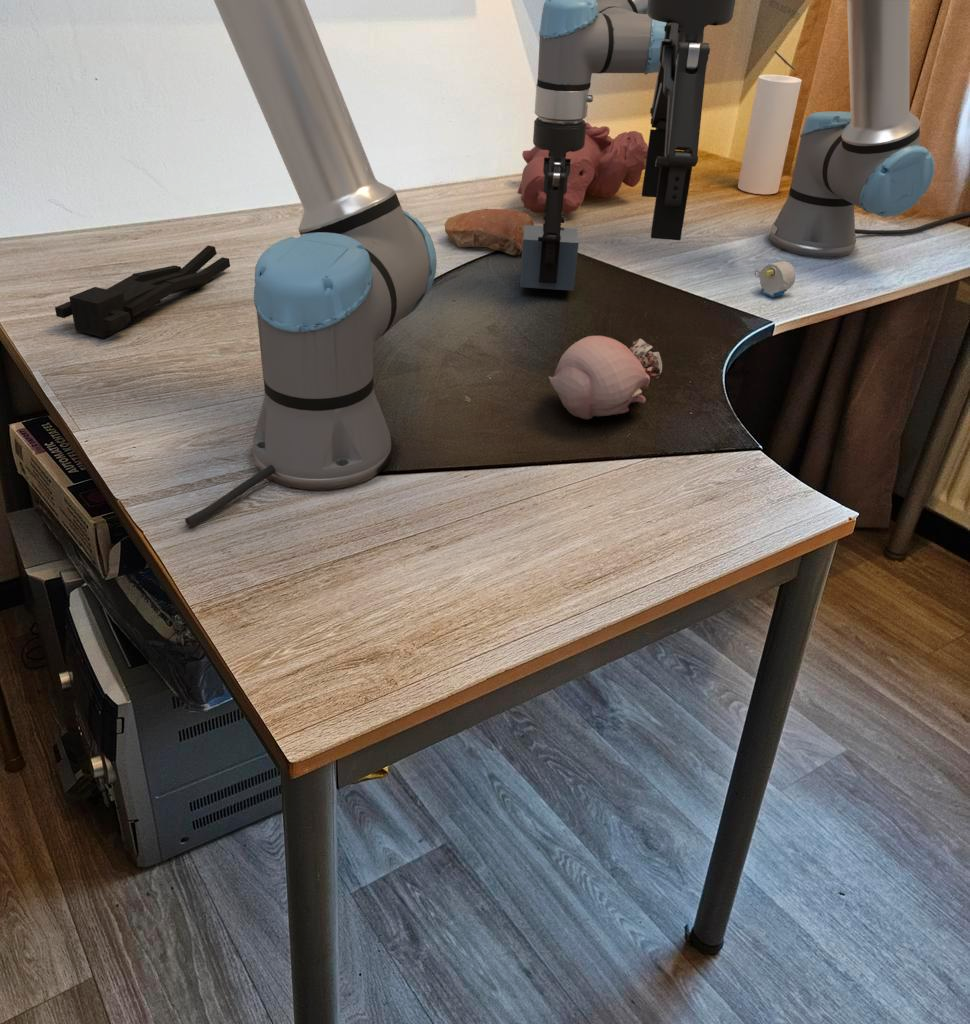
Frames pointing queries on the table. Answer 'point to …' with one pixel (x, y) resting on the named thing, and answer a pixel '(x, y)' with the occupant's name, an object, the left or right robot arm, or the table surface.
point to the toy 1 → (136, 294)
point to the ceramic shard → (489, 229)
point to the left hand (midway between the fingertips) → (659, 216)
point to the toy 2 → (604, 376)
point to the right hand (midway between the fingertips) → (548, 273)
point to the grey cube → (533, 258)
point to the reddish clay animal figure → (587, 169)
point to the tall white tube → (769, 131)
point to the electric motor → (776, 278)
